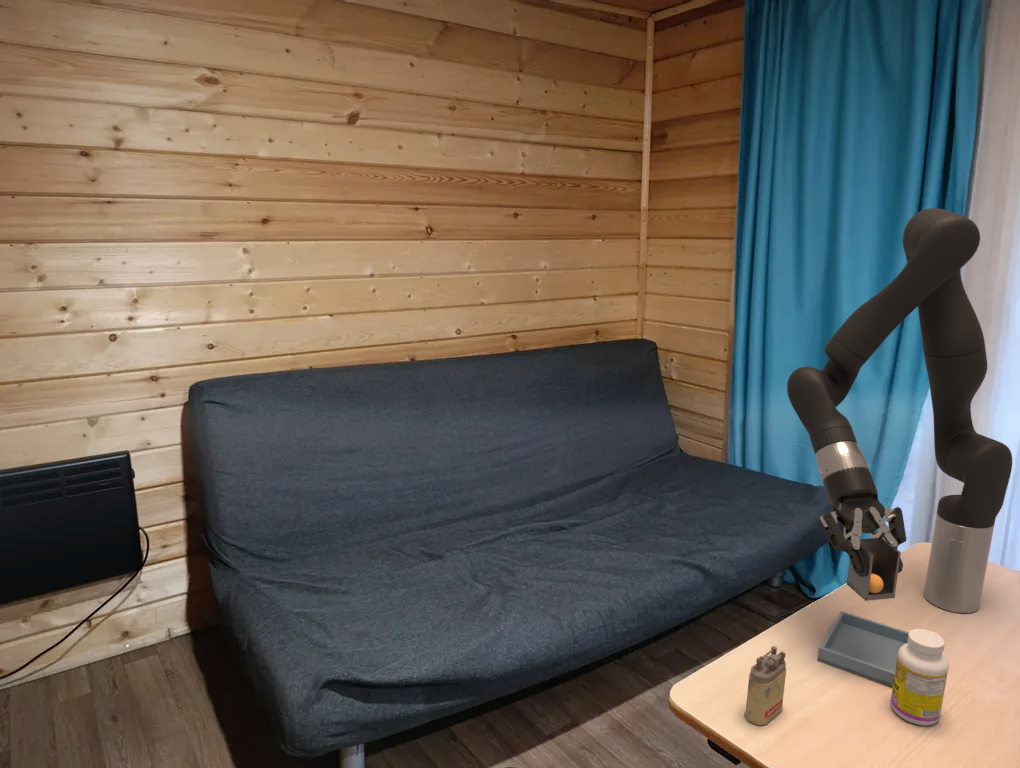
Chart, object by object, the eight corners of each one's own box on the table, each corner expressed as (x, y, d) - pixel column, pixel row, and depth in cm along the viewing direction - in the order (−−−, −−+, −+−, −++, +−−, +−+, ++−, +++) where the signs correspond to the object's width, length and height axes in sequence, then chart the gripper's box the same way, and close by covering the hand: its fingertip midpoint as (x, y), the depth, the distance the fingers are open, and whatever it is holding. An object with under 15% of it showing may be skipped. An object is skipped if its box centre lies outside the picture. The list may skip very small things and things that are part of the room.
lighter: (760, 729, 108) (767, 670, 105) (738, 715, 110) (743, 657, 108) (786, 708, 112) (793, 650, 109) (764, 695, 115) (770, 639, 112)
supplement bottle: (895, 691, 116) (907, 619, 112) (943, 710, 112) (956, 635, 108) (884, 714, 111) (896, 639, 107) (934, 734, 107) (948, 657, 103)
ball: (862, 573, 119) (867, 569, 117) (882, 579, 119) (887, 576, 116) (858, 590, 118) (863, 587, 116) (878, 597, 117) (883, 594, 115)
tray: (839, 622, 134) (840, 610, 133) (913, 647, 127) (915, 634, 126) (817, 660, 123) (819, 647, 123) (896, 689, 116) (898, 675, 116)
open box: (846, 584, 121) (852, 539, 119) (874, 581, 122) (880, 537, 120) (865, 600, 116) (871, 554, 114) (894, 598, 117) (900, 552, 115)
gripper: (815, 467, 120) (850, 571, 112) (896, 462, 122) (936, 563, 114) (795, 485, 127) (827, 584, 118) (872, 480, 129) (909, 577, 120)
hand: (880, 573), depth 116 cm, fingers closed on open box, 5 cm apart
